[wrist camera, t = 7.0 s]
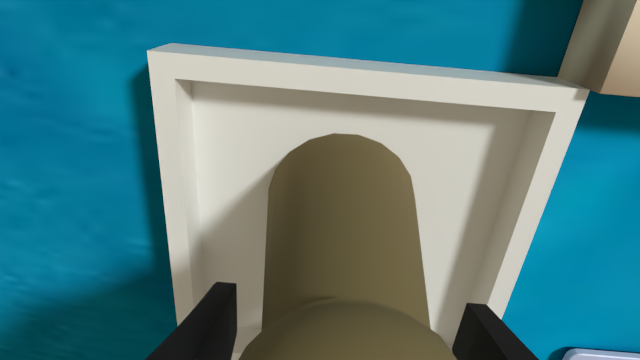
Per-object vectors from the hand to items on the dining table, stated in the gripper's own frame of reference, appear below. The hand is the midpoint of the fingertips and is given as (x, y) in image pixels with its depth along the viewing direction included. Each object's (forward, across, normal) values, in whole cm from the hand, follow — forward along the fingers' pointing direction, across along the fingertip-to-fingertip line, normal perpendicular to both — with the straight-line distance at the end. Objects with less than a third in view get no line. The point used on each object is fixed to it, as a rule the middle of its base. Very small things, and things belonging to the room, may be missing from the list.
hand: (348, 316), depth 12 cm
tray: (+5, 0, 0) cm, 5 cm away
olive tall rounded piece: (+5, 0, -1) cm, 5 cm away
